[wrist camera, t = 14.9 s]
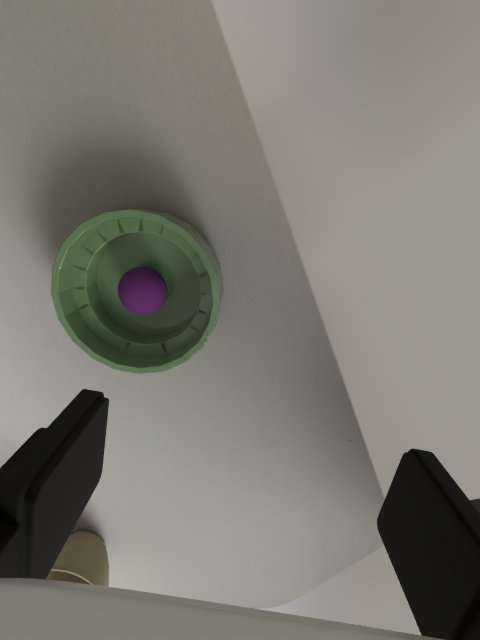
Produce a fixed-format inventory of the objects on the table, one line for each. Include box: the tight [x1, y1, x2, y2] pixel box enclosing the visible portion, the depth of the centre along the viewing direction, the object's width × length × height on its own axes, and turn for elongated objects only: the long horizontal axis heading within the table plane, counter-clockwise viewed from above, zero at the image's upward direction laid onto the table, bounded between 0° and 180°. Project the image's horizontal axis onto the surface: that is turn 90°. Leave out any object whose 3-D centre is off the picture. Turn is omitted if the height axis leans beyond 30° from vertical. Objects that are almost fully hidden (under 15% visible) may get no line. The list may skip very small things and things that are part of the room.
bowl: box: [51, 209, 223, 374], centre depth 32 cm, size 14×14×6 cm
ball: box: [118, 267, 167, 314], centre depth 32 cm, size 4×4×4 cm
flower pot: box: [46, 531, 109, 587], centre depth 42 cm, size 10×10×7 cm
